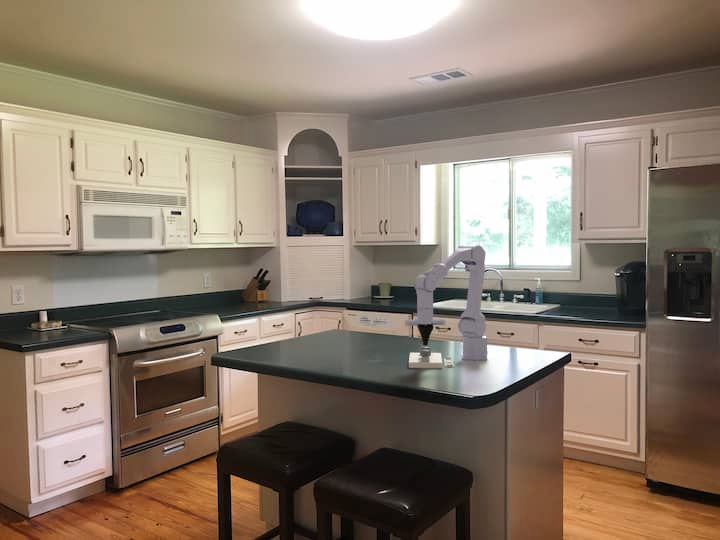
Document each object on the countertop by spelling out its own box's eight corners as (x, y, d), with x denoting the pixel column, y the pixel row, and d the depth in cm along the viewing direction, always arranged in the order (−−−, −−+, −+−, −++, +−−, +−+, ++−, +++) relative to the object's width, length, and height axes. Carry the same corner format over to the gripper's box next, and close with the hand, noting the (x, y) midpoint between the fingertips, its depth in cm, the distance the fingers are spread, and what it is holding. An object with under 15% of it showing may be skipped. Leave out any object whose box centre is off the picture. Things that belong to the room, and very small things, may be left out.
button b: (430, 357, 221) (430, 346, 221) (430, 359, 217) (430, 348, 217) (420, 357, 222) (420, 346, 221) (420, 359, 218) (420, 348, 217)
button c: (430, 360, 215) (430, 349, 215) (430, 362, 211) (430, 351, 211) (420, 360, 216) (419, 349, 215) (419, 362, 212) (419, 351, 211)
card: (452, 359, 225) (452, 357, 225) (454, 367, 211) (454, 365, 211) (443, 359, 226) (443, 357, 226) (445, 367, 212) (445, 365, 212)
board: (441, 358, 228) (440, 352, 228) (442, 368, 210) (442, 362, 210) (410, 357, 229) (410, 352, 229) (408, 367, 211) (408, 362, 211)
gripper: (442, 306, 217) (442, 342, 218) (403, 307, 216) (403, 343, 216) (446, 308, 210) (446, 346, 211) (406, 309, 209) (407, 347, 209)
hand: (425, 345), depth 213 cm, fingers closed
